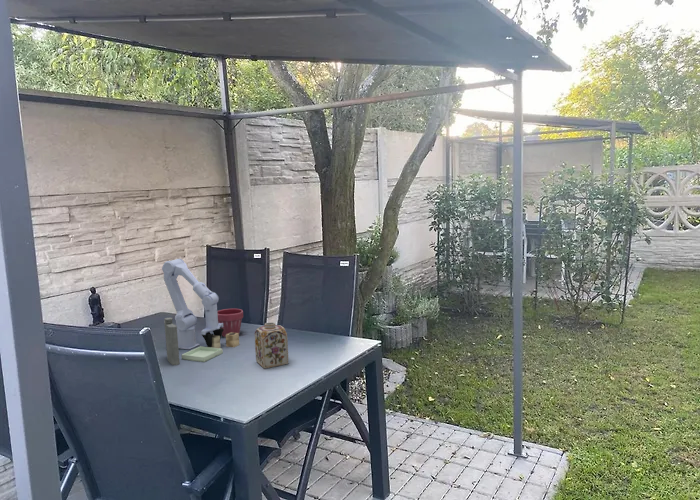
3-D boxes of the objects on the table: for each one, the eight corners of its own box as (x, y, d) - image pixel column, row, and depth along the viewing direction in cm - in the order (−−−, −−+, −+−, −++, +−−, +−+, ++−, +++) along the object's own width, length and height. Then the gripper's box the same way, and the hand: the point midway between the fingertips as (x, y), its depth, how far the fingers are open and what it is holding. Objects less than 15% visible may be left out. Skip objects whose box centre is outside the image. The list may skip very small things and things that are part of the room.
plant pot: (250, 332, 279) (248, 309, 277) (231, 339, 267) (229, 315, 265) (230, 329, 286) (229, 307, 285) (211, 336, 275) (209, 313, 273)
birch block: (207, 349, 253) (206, 337, 252) (213, 346, 257) (212, 334, 256) (214, 350, 251) (213, 338, 250) (220, 347, 255) (219, 335, 254)
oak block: (226, 346, 256) (225, 334, 255) (231, 344, 260) (231, 332, 259) (233, 347, 254) (233, 335, 253) (239, 344, 258) (238, 332, 257)
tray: (181, 359, 239) (181, 354, 239) (200, 350, 251) (200, 346, 251) (204, 362, 234) (204, 357, 233) (222, 353, 246) (222, 348, 245)
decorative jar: (263, 369, 221) (261, 328, 219) (255, 361, 232) (252, 322, 229) (289, 364, 227) (287, 324, 225) (280, 356, 237) (278, 318, 235)
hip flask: (180, 364, 232) (176, 320, 229) (170, 366, 230) (167, 322, 228) (173, 355, 246) (170, 313, 243) (165, 356, 244) (161, 315, 241)
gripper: (208, 322, 244) (210, 350, 245) (227, 315, 257) (229, 341, 258) (196, 321, 247) (198, 349, 248) (216, 314, 260) (218, 340, 261)
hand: (213, 345), depth 254 cm, fingers open, 6 cm apart
